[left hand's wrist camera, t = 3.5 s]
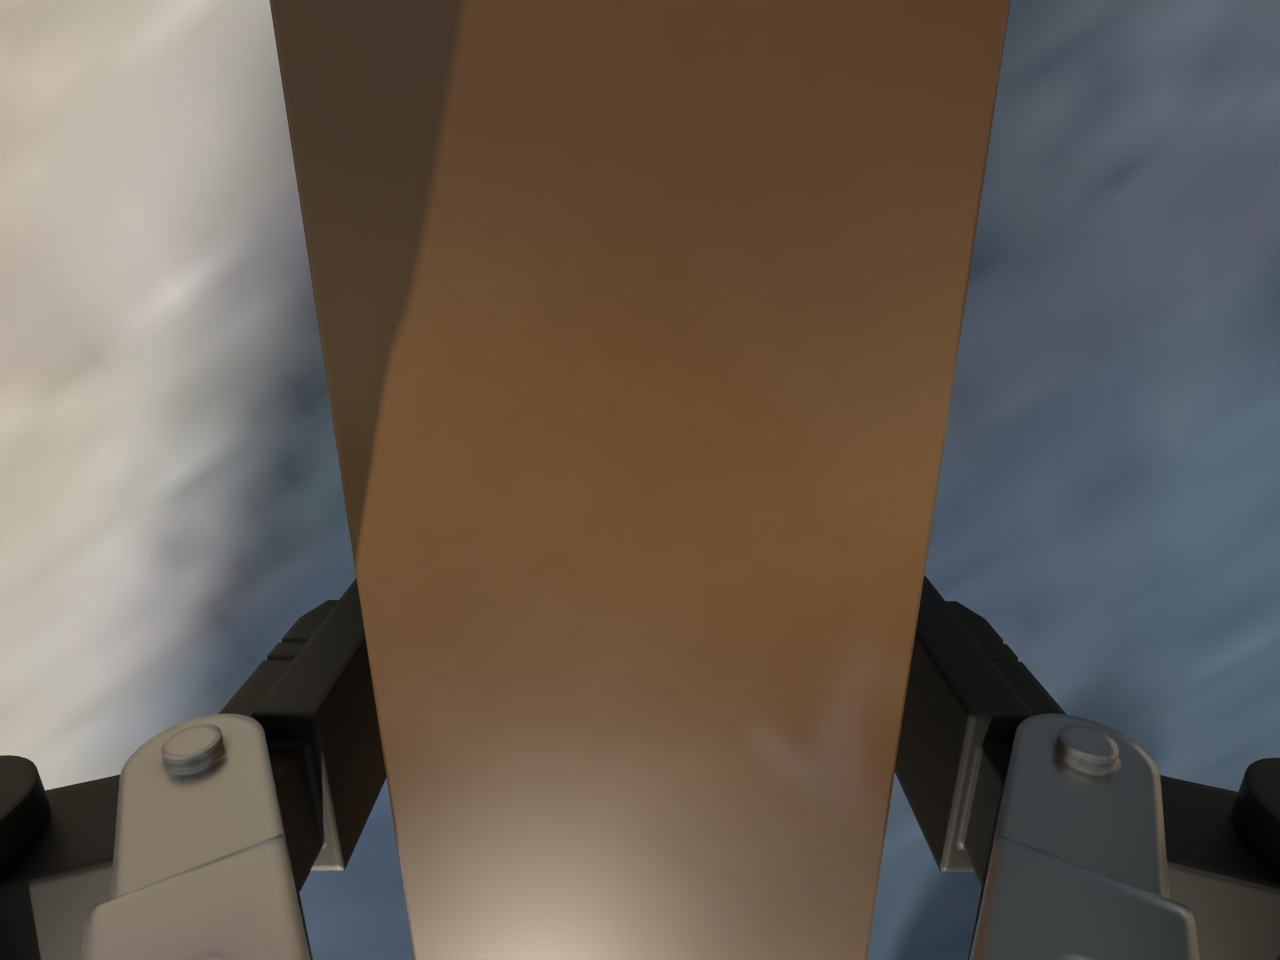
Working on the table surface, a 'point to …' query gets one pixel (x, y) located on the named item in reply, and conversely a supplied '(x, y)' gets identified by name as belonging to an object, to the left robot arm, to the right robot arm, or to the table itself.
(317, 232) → the bar
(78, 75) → the table surface
